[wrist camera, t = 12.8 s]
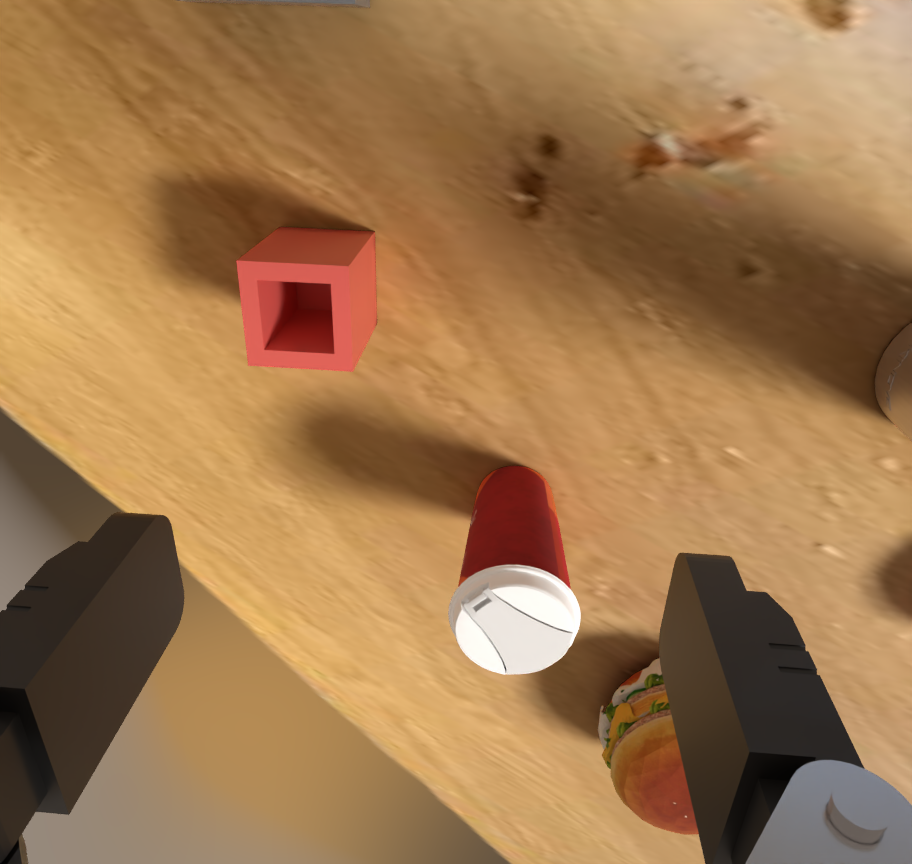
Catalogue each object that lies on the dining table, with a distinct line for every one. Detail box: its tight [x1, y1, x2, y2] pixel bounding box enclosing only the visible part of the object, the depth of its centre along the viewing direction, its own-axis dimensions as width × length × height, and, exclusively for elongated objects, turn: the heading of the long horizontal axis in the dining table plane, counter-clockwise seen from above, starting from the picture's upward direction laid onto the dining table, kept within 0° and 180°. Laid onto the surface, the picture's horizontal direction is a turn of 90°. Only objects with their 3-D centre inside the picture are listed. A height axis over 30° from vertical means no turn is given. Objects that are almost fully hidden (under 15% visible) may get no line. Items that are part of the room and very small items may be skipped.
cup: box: [236, 227, 377, 372], centre depth 43 cm, size 6×6×8 cm
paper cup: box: [448, 466, 580, 674], centre depth 47 cm, size 8×8×14 cm
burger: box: [598, 658, 699, 834], centre depth 58 cm, size 14×14×10 cm
